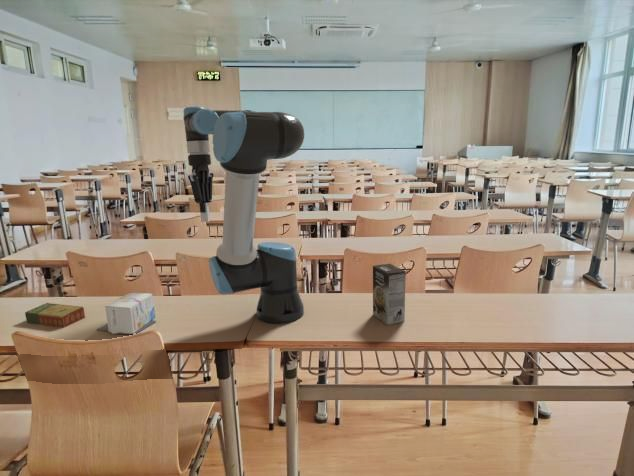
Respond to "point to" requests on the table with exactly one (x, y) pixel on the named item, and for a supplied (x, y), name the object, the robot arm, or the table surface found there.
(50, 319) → the carton
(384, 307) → the coffee box
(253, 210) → the robot arm
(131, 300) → the ink box
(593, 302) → the table surface
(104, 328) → the rubber mat
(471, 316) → the table surface
